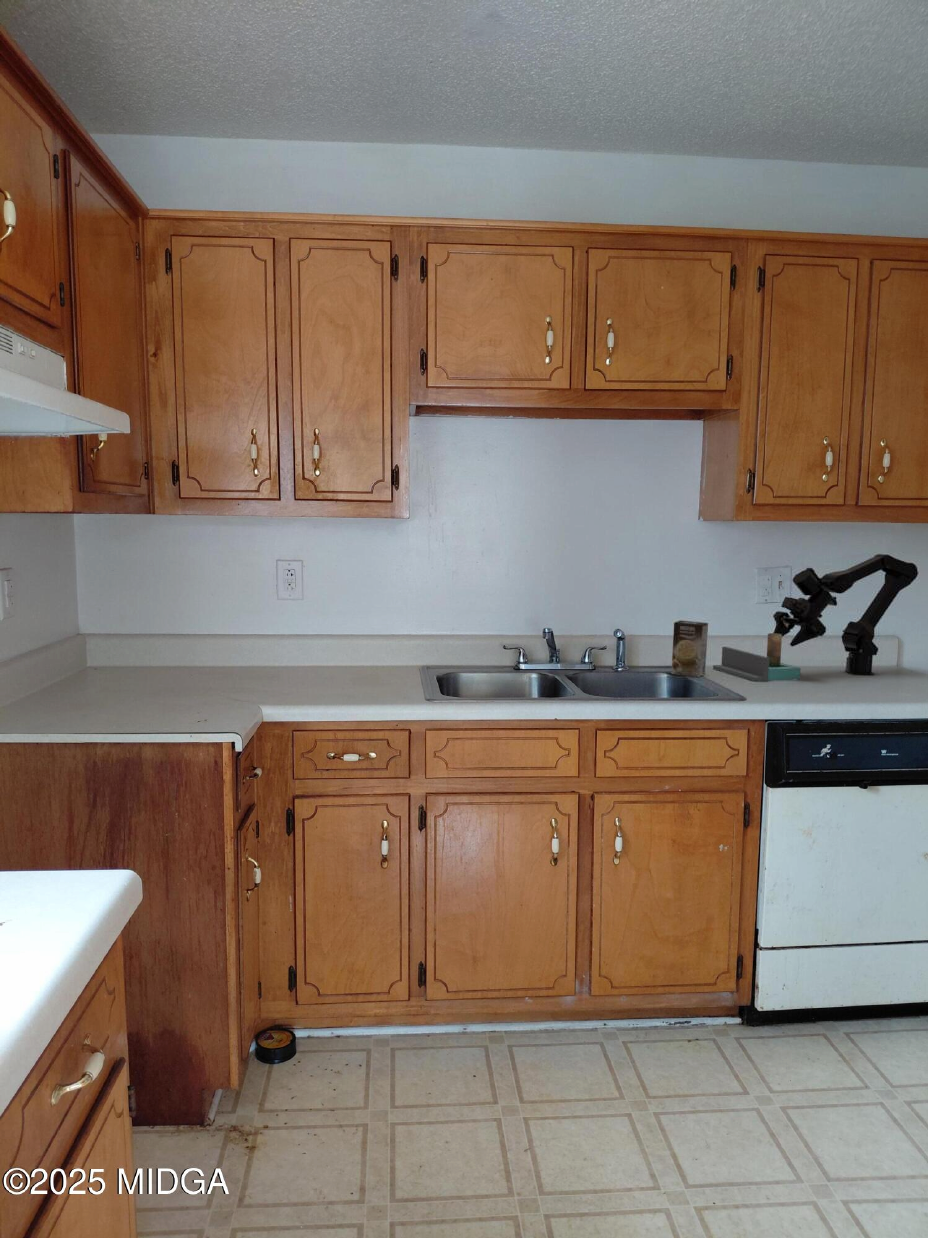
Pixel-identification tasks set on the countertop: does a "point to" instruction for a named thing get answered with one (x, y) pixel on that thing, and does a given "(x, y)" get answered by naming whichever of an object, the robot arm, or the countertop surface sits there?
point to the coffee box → (689, 648)
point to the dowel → (774, 649)
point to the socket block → (783, 672)
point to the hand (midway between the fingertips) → (781, 643)
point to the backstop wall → (744, 664)
